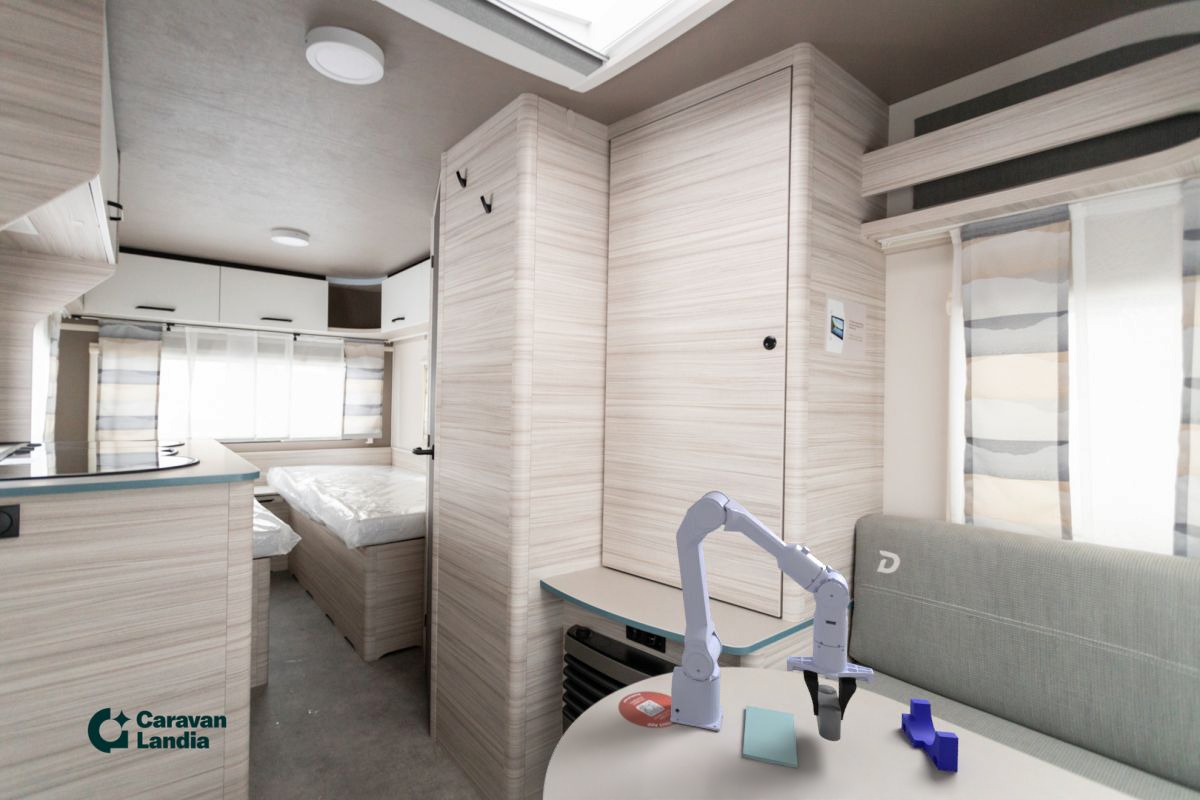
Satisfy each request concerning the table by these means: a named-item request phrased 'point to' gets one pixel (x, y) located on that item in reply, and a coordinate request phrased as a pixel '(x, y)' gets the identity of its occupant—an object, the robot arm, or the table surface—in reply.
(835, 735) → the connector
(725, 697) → the table surface
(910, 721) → the cable clip
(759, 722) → the rubber mat
